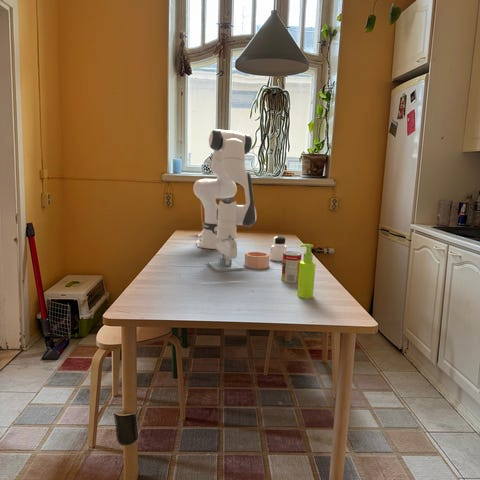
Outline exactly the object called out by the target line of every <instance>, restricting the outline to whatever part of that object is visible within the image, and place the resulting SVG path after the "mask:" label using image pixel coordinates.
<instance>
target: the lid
mask: <svg viewBox="0 0 480 480" xmlns="http://www.w3.org/2000/svg"><path fill="white" fill-rule="evenodd" d="M232 259H233V258H231V259H230V263H229V265H226V264H225V260H226V258H222V257H221V258H219V259H218V260H219V261H212V262H211V261H210V262H207V264H208V265H209V266H210V267H212V268H213V269H214V270H215V271H216V272H218V271H236V270H243V268H244V267H243V266H241V265H240V264H239V263H238V262H236V261H235V260H232ZM238 264H239V265H238ZM236 272H237V271H236Z"/></svg>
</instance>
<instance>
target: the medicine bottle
mask: <svg viewBox="0 0 480 480" xmlns="http://www.w3.org/2000/svg"><path fill="white" fill-rule="evenodd" d="M285 251H288V246H287V245H286V237H284V236H282V235H281V236H280V235H279V236H274V237H273V244H272V245H271V246H270V252H269V253H270V254H269V255H270V259H269V261H276V262H283V252H285Z"/></svg>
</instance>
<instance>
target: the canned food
mask: <svg viewBox="0 0 480 480" xmlns="http://www.w3.org/2000/svg"><path fill="white" fill-rule="evenodd" d="M302 255H303V254H302V252H299V251H293V250H287V251H285V252H283V262H282V261H281V262H282V263H281V264H282V266H281V278H280V279H281V281H282V282H284V283H290V284H298V279H299V265H300V261H302Z"/></svg>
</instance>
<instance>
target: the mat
mask: <svg viewBox="0 0 480 480" xmlns="http://www.w3.org/2000/svg"><path fill="white" fill-rule="evenodd" d="M237 264H238V265H240V264H239V263H237ZM204 266H205V267H207V268H208V269H209V270H210V271H211V272H212V273H215V274H217V273H232V272H233V273H234V272H247V271H248V270H247V269H246V268H244V267H243V270H236V271H218V272H216V271H215V270H214V269H213V268H212V267H210V266H209V265H208V263H204Z"/></svg>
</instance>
